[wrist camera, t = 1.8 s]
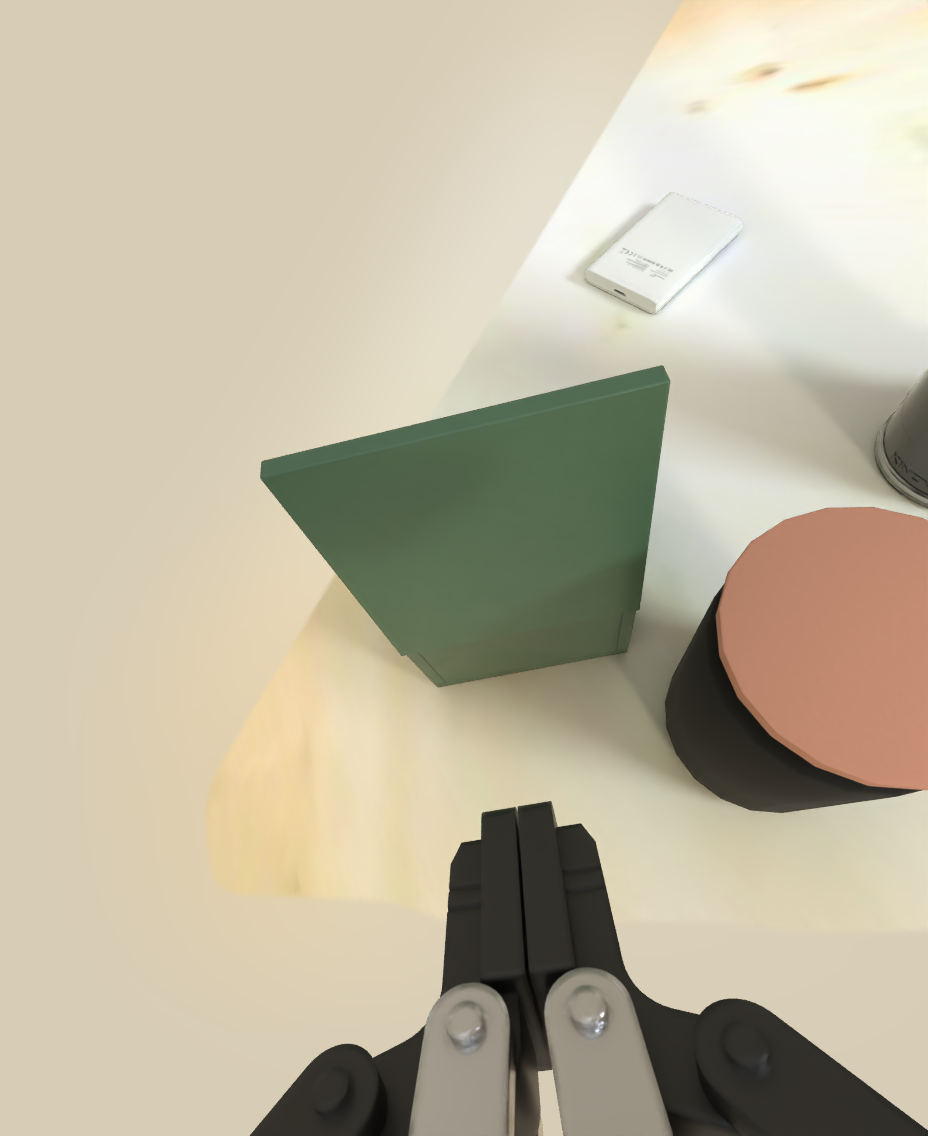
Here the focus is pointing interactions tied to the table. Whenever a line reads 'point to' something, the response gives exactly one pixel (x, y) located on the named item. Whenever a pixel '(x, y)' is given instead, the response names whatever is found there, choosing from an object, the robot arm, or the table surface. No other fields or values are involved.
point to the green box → (527, 650)
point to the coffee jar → (812, 666)
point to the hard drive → (663, 252)
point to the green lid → (489, 512)
